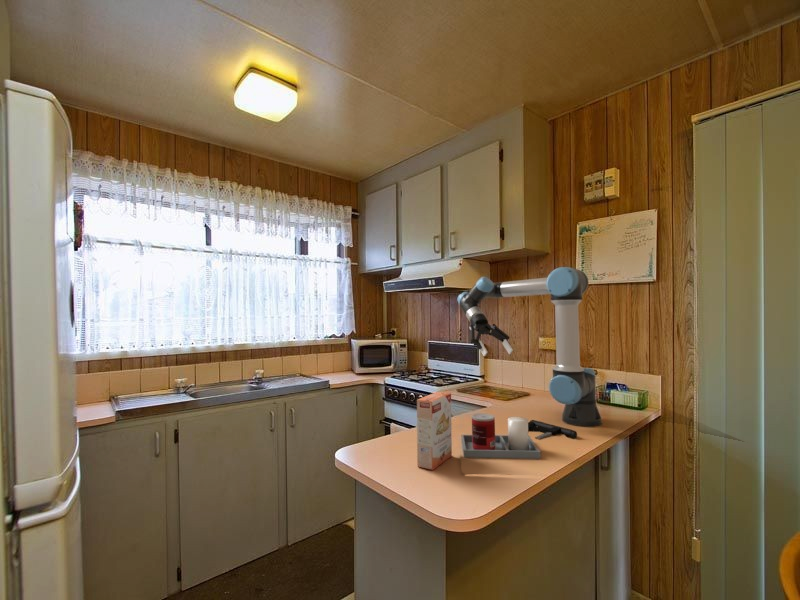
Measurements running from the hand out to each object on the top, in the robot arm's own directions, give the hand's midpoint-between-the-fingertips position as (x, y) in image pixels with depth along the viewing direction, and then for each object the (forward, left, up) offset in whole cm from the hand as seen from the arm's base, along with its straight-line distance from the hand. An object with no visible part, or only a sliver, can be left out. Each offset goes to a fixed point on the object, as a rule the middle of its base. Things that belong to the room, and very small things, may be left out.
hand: (498, 353), depth 165 cm
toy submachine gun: (-13, +16, -30) cm, 37 cm away
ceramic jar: (-1, +35, -29) cm, 45 cm away
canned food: (+11, +35, -29) cm, 46 cm away
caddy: (+6, +35, -30) cm, 46 cm away
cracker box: (+27, +45, -30) cm, 60 cm away
